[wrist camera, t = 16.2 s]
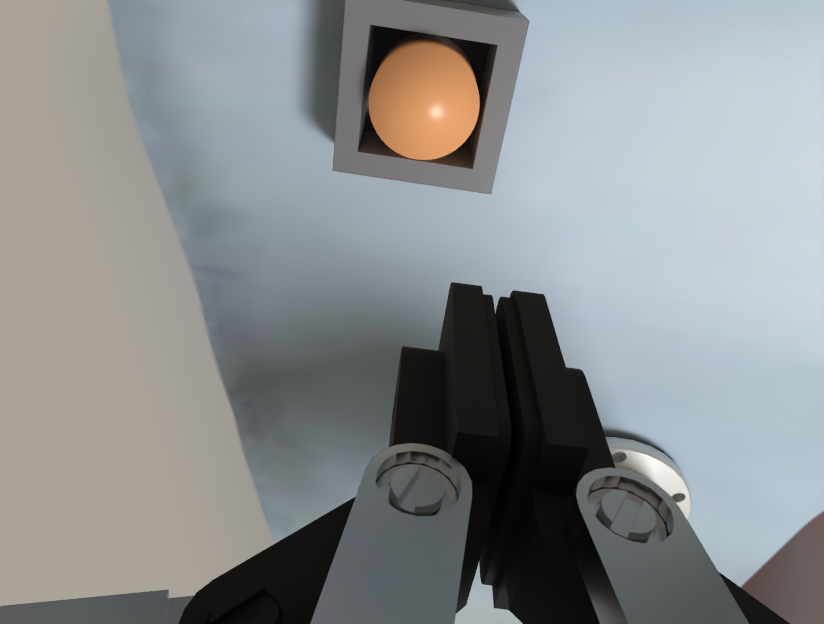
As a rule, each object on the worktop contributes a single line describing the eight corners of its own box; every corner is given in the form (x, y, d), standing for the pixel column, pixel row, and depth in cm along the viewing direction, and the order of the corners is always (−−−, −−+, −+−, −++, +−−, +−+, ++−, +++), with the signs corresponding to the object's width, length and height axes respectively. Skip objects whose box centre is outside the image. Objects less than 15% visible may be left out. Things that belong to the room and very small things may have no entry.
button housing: (486, 171, 29) (490, 194, 27) (341, 149, 29) (332, 170, 27) (520, 12, 26) (529, 21, 23) (355, -15, 25) (346, -9, 23)
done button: (464, 142, 28) (468, 167, 25) (371, 128, 28) (363, 151, 25) (484, 41, 26) (490, 55, 23) (382, 25, 26) (374, 37, 23)
